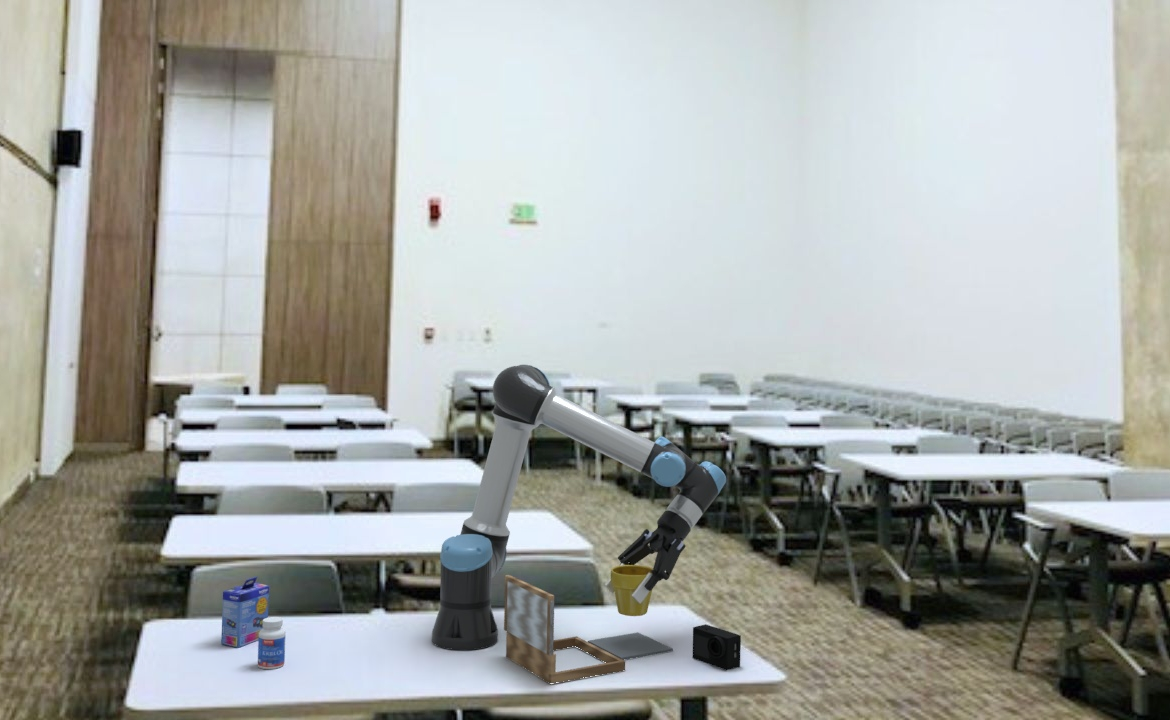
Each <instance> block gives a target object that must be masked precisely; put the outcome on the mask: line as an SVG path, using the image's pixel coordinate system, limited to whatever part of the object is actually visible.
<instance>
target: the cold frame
mask: <svg viewBox="0 0 1170 720" xmlns="http://www.w3.org/2000/svg"><path fill="white" fill-rule="evenodd" d="M503 610H504V614H503V615H504V617H503V619H504V621H503V622H504V624H503V625H504V626H503V630H504V631H505V632H506V633H505V635H506V640H505V641H506V643H505V644H506V645H505V646H506V647H505V648H506V649H505V657H506V658H507V659H508V660H510V661H512V662H514V663H515V664H517V665H518V664H519V666H520V667H522V668H523V667H524V669H525V668H526V669H527V670H526V669H525V670H526V671H528V670H529V671H528V672H530V673H531V672H533V673H534V674H536V675H537V676H536V675H535V676H536V677H538V676H539V677H540V678H539V677H538V678H539V679H541V678H542V679H544V680H545V681H544V680H543V681H544V682H546V681H547V682H549V683H556V682H563V681H568V680H574V679H579V680H581V679H580V678H583V677H584V679H586V678H585V677H590V676H595V675H600V676H603V675H602V674H605V675H608V674H607V673H611V674H614V673H613V672H616V673H620V672H619V671H621V672H624V671H623V670H625V671H626V660H622V659H620V658H618V657H616V656H614V655H612V654H610V653H608V652H606V651H604V650H602V649H600V648H598V647H596V646H594V645H593V644H591V643H589V642H588V640H587V641H586V640H585V639H583V638H580V637H578V636H572V637H571V636H570V637H564V638H559V639H558V638H557V639H554V638H555V637H554V635H555V633H554V632H555V630H554V629H555V628H554V627H555V595H554V594H552V593H549V592H547V591H545V590H543V589H541V588H539V587H536V586H535V585H533V584H530V583H529V582H526V581H524V580H521V579H519V578H517V577H515V576H513V575H510V574H507V575H506V574H505V575H504V609H503ZM572 646H576V647H578V648H580V649H582V650H584V651H585V652H588V653H589V654H591V655H593V656H595V657H596V658H595V657H594V658H595V659H597V658H599V659H600V660H599V659H598V660H599V661H601V660H602V661H604V662H606V663H604V662H603V663H599V664H594V665H589V666H582V667H577V668H571V669H566V670H561V671H559V670H558V671H556V669H557V668H556V666H557V665H556V661H557V654H556V653H555V652H554V651H557V650H556V649H560V650H564V649H563V648H566V649H568V648H567V647H572ZM576 647H575V648H576ZM572 648H573V647H572ZM578 648H577V649H578ZM580 649H579V650H580ZM553 650H554V651H553ZM582 650H581V651H582ZM584 651H583V652H584ZM585 652H584V653H585ZM589 654H588V655H589ZM591 655H590V656H591ZM593 656H592V657H593ZM602 661H601V662H602ZM533 673H532V674H533ZM534 674H533V675H534ZM595 677H596V676H595ZM590 678H591V677H590ZM542 679H541V680H542ZM574 681H575V680H574ZM547 682H546V683H547ZM568 682H569V681H568ZM549 683H548V684H549ZM563 683H564V682H563Z"/></svg>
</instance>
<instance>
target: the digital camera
mask: <svg viewBox="0 0 1170 720" xmlns="http://www.w3.org/2000/svg"><path fill="white" fill-rule="evenodd" d="M741 638H742V635H741V634H737V633H735V632H731V631H729V630H725V629H722V628H719V627H716V626H712V625H709V624H706V623H705V624H701V625H697V626H693V627H692V659H694V660H697V661H700V662H702V663H705V664H708V665H711V666H713V667H716V668H719V669H722V670H725V671H730V670H733V669H737V668H740V667H741V643H742V640H741Z"/></svg>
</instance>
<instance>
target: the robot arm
mask: <svg viewBox="0 0 1170 720" xmlns="http://www.w3.org/2000/svg"><path fill="white" fill-rule="evenodd" d="M492 394H493V399H494V403H495V404H494V407H493V412H492V415H493V417H494V419H495V420H496V421H495V422H496V424H495V428H494V431H493V436H492V438H491V439H492V440H491V443H490V447H489V450H488V454H487V456H486V457H487V458H486V461H485V465H484V468H483V472H482V476H481V479H480V483H479V487H478V492H477V495H476V499H475V503H474V506H473V510H472V513H471V516H469V517H468V518H466V519H465V520H463V523H462V526H461V531H460V534H457V535H455V536H451V537H449V538H447V539H445V541H443V543H442V544H441V549H440V554H439V555H440V556H439V557H440V559H439V560H440V588H439V589H440V593H439V595H440V596H439V597H440V598H439V599H440V600H439V602H440V603H439V604H440V606H439V610H438V614H437V616H436V618H435V621H434V624H433V628H432V632H431V642H432V644H433V645H435V646H436V647H439V648H443V649H448V650H455V651H458V650H460V651H467V650H468V651H470V650H471V651H472V650H479V649H485V648H488V647H491V646H493V645H495V644H496V643H498V641H499V630H498V626H497V623H496V619H495V616H494V613H493V609H492V579H493V578H494V577H495V576H496V575H497V574H498V573H499V572H500V571H501V570H502V568H503V566H504V564H505V562H506V559H507V546H508V542H509V538H510V535H511V532H510V529H509V528H508V527H507V522H508V518H509V514H510V511H511V506H512V502H513V499H514V495H515V492H516V488H517V484H518V480H519V477H520V473H521V469H522V465H523V462H524V459H525V455H526V451H527V447H528V443H529V439H530V435H531V432H532V431H533V430H534V429H536V428H538V427H539V426H540V425H544V426H546V427H547V428H550V429H551V430H554V431H556V432H558V433H560V434H562V435H564V436H566V437H569V438H570V439H572V440H574V441H576V442H578V443H581V444H582V445H584V446H586V447H588V448H590V449H592V450H595V451H597V452H598V453H601V454H602V455H604V456H606V457H609V458H611V459H613V460H614V461H616V462H620V463H621V464H623V465H625V466H628V467H629V468H631V469H633V470H635V471H637V472H639V473H641V474H643V476H647V477H649V478H651V479H653V481H655V482H656V484H658V485H660V486H661V487H664V488H665V487H667V488H668V487H675V488H677V489H678V490H679V492H678V493H677V495H676V496H675V497H674V498H673V500H672V501H671V502H670V503H669V505H668V506H667V508H666V510H665V511H663V512H662V514H661V515H660V517H659V518H658V519H657V521H656V524H657V528H655V530H653V531H650V530H649V529H648V528H646V529H644V530H643V532H642V533H641V534H640V536H638V537H637V539H635V540H634V541H633V542H632V543H631V544H630V545H629V546H628V547H627V548H626V549H624V550H623V551H622V553H620V555H618V557H617V559H618V560H619V562H620V564H619V565H618V566H621V565H637V563H639V562H641V560H643V559H644V558H646V557H647V556H649V555H653V554H654V553H656V557H655V559H654V564H653V567H652V568H653V570H650V572H651V573H652V574H653V575H652V574H651V573H648V574H647V576H646V577H645V578H644V580H643V581H642V582H641V584H640V585H639V586H638V588H637V589H636V590H635V592H634V593H633V594H632V597H633V598H634V599H635V600H636V601H637V602H638V603H639V604H641V602H642V601H643V600H644V598H645V597H646V596H647V594H648V593H649V592H650V591H651V590H652V591H653V590H654V588H655V586H657V584H658V582H660V581H662V580H664V581H668V580H669V579H670V577H671V574H672V572H673V571H674V568H675V566H676V564H677V561H678V560H679V557H680V555H681V553H682V552H683V551H684V550H685V548H686V544H685V543H684V542H683V541H684V540H685V539H686V538H687V537H688V535H689V533H691V532H692V531H691V529H693V528H694V527H695V525H696V524H697V523H698V521H699V520H700V519H701V517H702V516H703V515H704V513H705V512H706V511H707V510H708V508H709V507H710V506H711V505H712V503H713V502H714V500H715V499H716V498H717V496H718V495H719V494H720V492H721V490H722V489H723V487H724V486H725V484H726V482H727V477H726V474H725V473H724V471H723V470H722V469H721V468H720V467H719V466H718V465H716V464H713V462H710V461H706V460H705V461H702V462H701V463H700V464H698V463H697V462H696V461H694V460H693V459H692V458H691V457H689V456H688V455H687V454H686V453H684V452H683V451H682V450H681V449H680V448H679V447H678V446H676V445H675V443H673V442H672V441H670V440H669V439H668V438H666V437H664V436H659V437H658V438H657V439H656V440H655V441H653V440H650V439H648V438H647V437H644V436H642V435H641V434H638V433H636V432H635V431H632V430H630V429H628V428H626V427H624V426H621V424H618V423H615V422H614V421H612V420H610V419H608V418H606V417H603V415H602V416H601V415H599V414H598V413H595V412H594V411H592V410H590V409H587V408H585V407H583V406H582V405H579V404H577V403H575V402H573V401H572V400H569V399H567V398H566V397H563V396H562V395H560V394H558V393H557V391H556V389H555V387H553V386H551V385H550V381H549V379H548V377H547V376H546V374H545V373H544V372H543V371H542V370H541V369H539V368H538V367H536V366H533V365H531V364H530V365H528V364H519V365H513V366H509V367H507V368H505V369H503V370H502V371H501V372H499V374H497V377H495V380H494V382H493V385H492ZM604 586H605V587H606V588H607V590H609V591H610V592H611V593H612V594H613V593H614V594H615V592H614V586H612V585H611V577H609V579H608V580H607V581H606V582H605V584H604Z"/></svg>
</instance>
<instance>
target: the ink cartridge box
mask: <svg viewBox="0 0 1170 720" xmlns="http://www.w3.org/2000/svg"><path fill="white" fill-rule="evenodd" d="M257 578H258V576H255V577H252V578H248V579H246V580H245V581H244V582H243V584H242V585H240V586H234V587H232V588H229V589H226V590H223V592H222V615H221V617H222V618H221V639H220V640H221V642H220V643H221V645H224V646H228V645H229V647H232V646H233V647H234V648H236V647H238V648H241V647H245V646H247V645H249V644H252V643H255V642H256V641H257V642H258V639H259V632H260V631H261V630H262V629H264V628H263V619H265V618H269V602H270V601H269V599H270V585H269V584H268V585H267V584H265V583H264V584H263V583H259V582H256V581H257ZM251 581H252V582H251ZM238 648H237V649H238Z"/></svg>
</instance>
